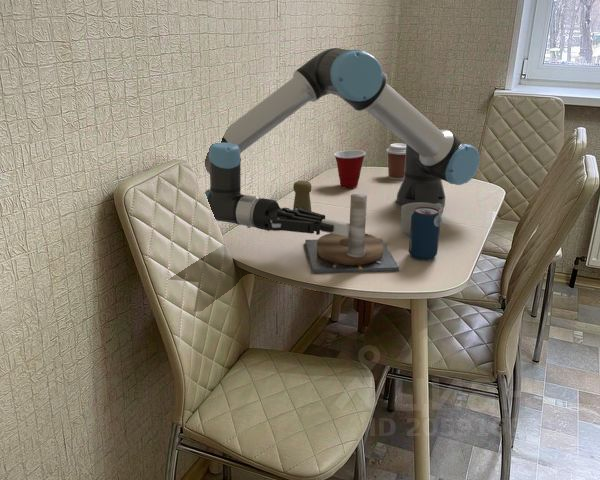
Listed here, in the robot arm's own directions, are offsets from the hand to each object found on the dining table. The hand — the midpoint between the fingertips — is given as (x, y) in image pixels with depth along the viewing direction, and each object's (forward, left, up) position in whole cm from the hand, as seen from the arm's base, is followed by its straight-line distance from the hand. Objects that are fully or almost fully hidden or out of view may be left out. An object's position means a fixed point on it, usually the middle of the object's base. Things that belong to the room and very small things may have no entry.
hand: (348, 229), depth 133 cm
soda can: (-20, -7, -10) cm, 23 cm away
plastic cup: (-12, -71, -10) cm, 73 cm away
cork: (+7, -38, -10) cm, 40 cm away
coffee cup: (-32, -82, -10) cm, 88 cm away
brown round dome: (-2, -7, -9) cm, 11 cm away
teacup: (-25, -23, -10) cm, 35 cm away
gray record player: (-2, -8, -10) cm, 13 cm away
